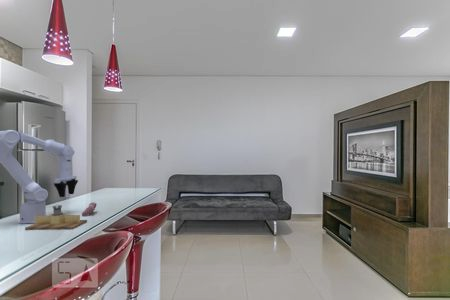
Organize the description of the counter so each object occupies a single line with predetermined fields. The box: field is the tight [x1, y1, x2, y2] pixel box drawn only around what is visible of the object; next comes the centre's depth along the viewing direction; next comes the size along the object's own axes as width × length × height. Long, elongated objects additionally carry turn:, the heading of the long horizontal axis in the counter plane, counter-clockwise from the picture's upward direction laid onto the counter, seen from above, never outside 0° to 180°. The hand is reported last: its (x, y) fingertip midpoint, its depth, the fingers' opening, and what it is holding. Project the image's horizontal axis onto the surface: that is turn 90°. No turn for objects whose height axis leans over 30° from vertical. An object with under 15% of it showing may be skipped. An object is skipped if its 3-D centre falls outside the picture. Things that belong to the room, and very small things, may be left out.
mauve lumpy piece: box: [81, 202, 98, 217], centre depth 137 cm, size 10×5×7 cm, turn 17°
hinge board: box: [24, 219, 88, 231], centre depth 115 cm, size 20×11×1 cm, turn 90°
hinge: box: [34, 212, 81, 226], centre depth 115 cm, size 19×6×4 cm, turn 90°
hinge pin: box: [52, 204, 63, 216], centre depth 115 cm, size 3×3×8 cm
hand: (66, 195), depth 135 cm, fingers open, 7 cm apart
